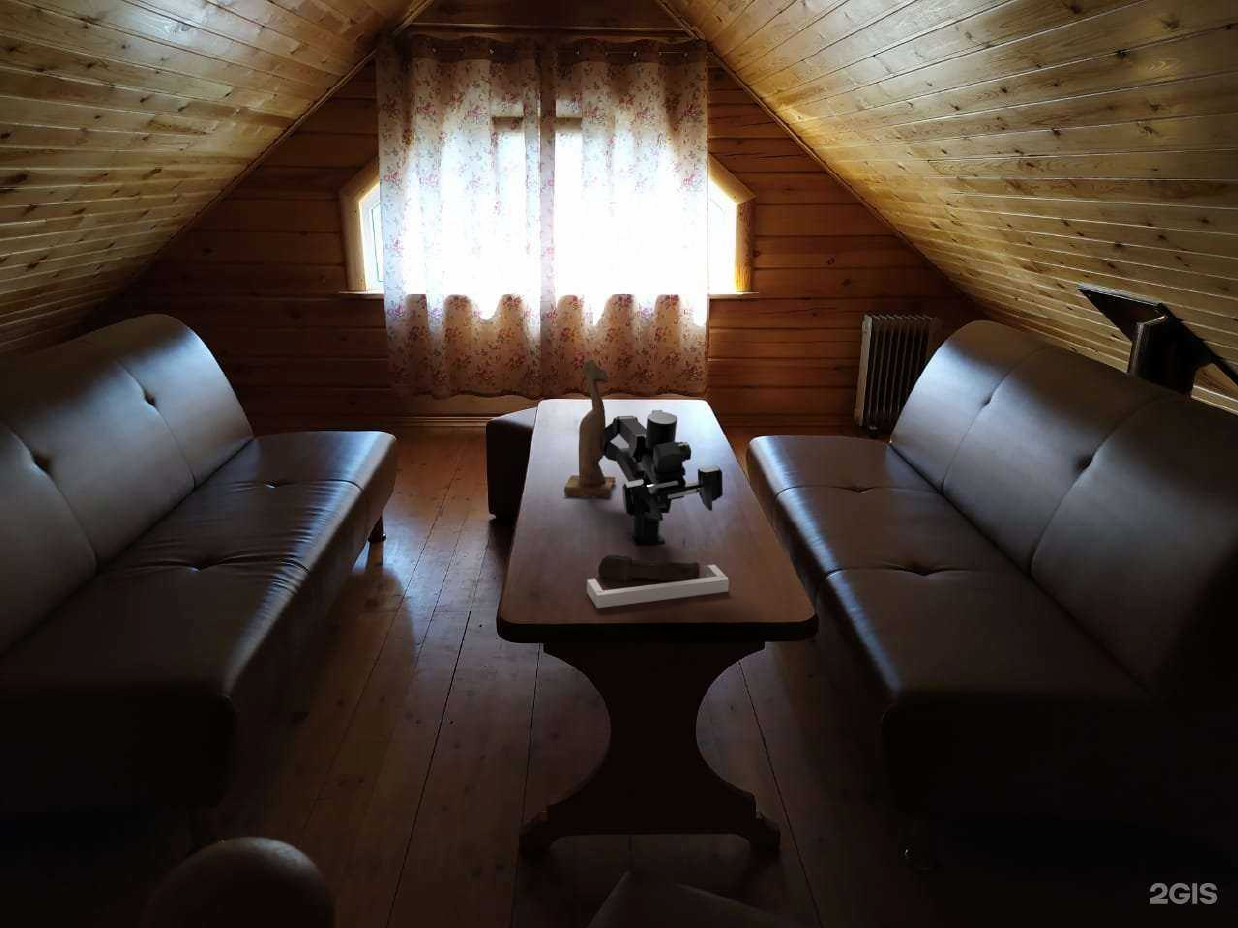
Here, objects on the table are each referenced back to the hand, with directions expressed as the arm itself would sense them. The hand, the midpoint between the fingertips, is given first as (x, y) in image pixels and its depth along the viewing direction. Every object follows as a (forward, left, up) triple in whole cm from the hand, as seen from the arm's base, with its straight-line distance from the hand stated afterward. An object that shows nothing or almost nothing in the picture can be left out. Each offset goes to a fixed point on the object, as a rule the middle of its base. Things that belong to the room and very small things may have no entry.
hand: (686, 513), depth 156 cm
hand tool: (-6, -4, -16) cm, 17 cm away
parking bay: (-1, -4, -15) cm, 16 cm away
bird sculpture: (-57, -1, -16) cm, 59 cm away
